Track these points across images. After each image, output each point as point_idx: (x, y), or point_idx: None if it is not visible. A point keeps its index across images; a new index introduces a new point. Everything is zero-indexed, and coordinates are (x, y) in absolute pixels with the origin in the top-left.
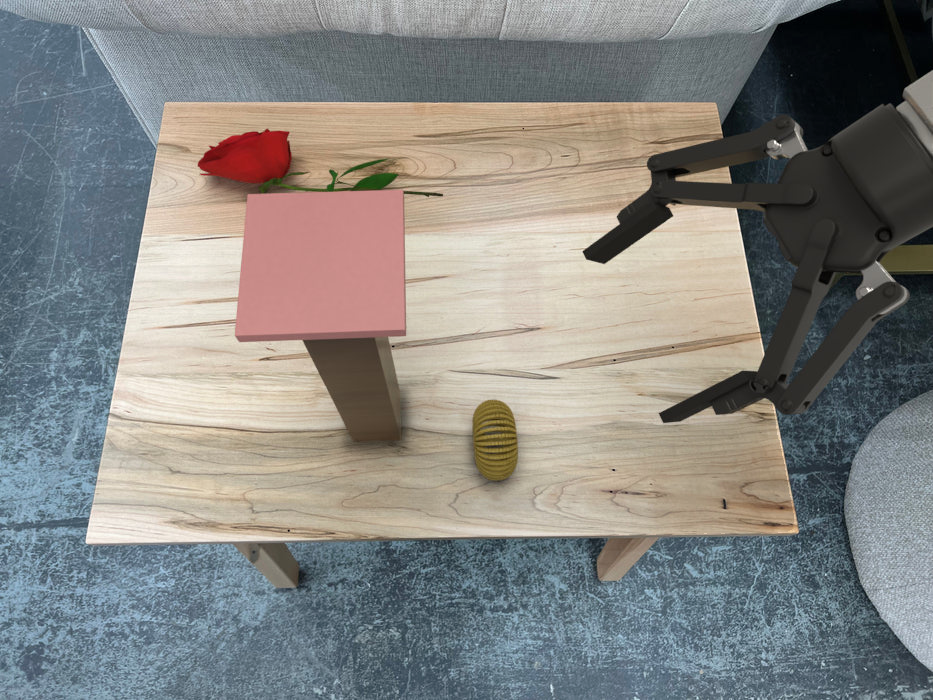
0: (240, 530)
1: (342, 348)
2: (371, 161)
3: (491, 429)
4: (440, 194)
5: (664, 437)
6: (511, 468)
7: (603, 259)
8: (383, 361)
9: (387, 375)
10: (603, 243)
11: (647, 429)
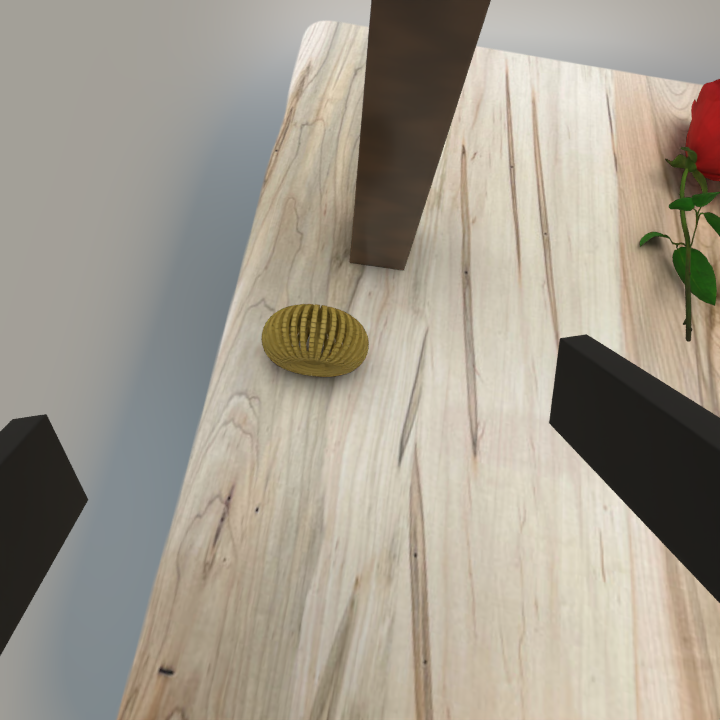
0: (287, 113)
1: None
2: None
3: (314, 315)
4: (689, 336)
5: (285, 602)
6: (267, 347)
7: (561, 406)
8: (385, 50)
9: (380, 114)
10: (613, 368)
11: (302, 578)
